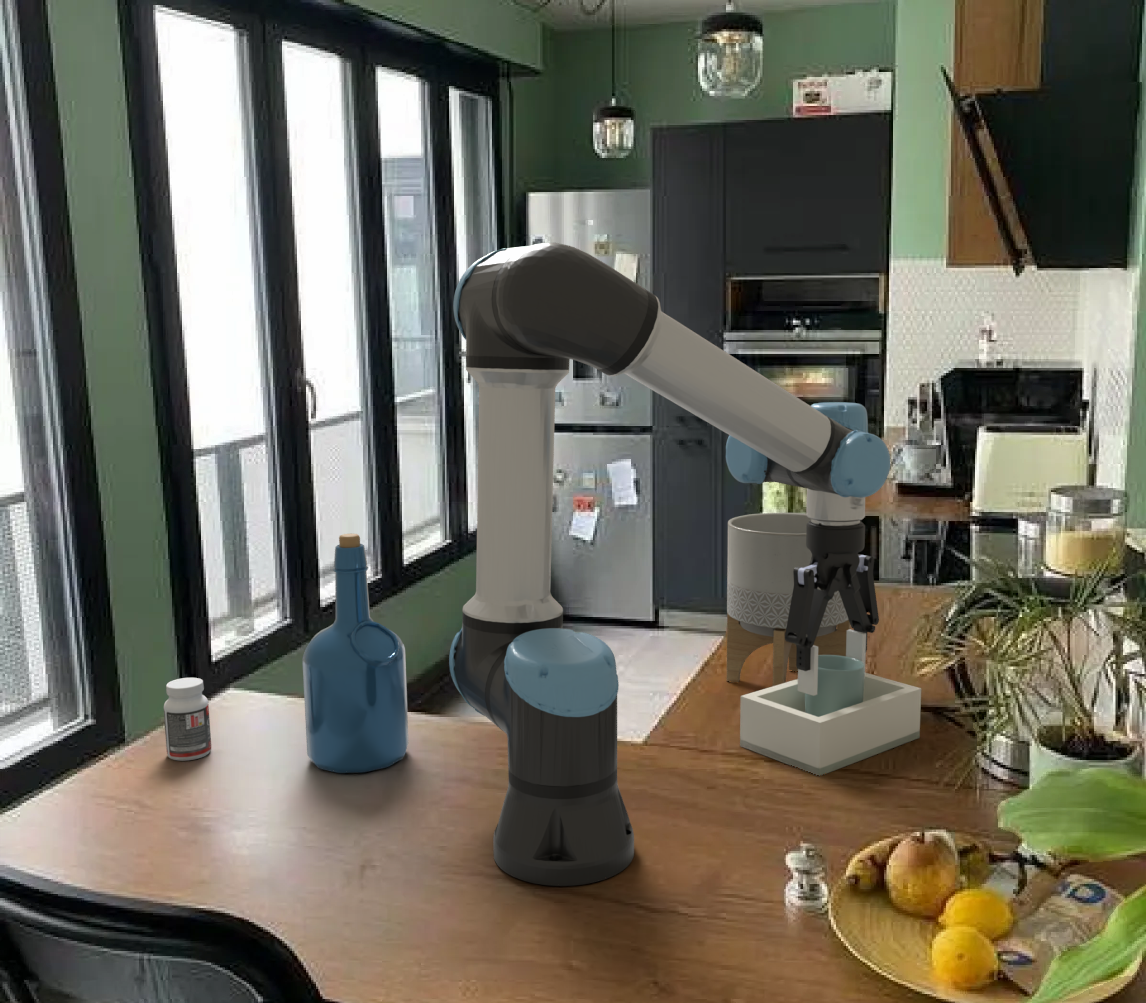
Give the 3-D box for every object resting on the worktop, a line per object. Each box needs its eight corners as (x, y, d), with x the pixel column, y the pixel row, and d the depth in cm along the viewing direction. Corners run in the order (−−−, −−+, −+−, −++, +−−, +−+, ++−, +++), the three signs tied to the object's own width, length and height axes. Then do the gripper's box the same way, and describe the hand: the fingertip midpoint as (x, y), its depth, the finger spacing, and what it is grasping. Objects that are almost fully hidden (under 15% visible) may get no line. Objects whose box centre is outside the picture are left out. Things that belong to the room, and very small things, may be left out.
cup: (862, 746, 149) (866, 672, 148) (802, 741, 151) (805, 668, 149) (860, 727, 157) (863, 656, 155) (802, 722, 158) (805, 652, 157)
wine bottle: (287, 759, 150) (275, 536, 145) (368, 732, 159) (360, 522, 155) (349, 786, 141) (338, 549, 136) (431, 756, 150) (424, 533, 146)
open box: (818, 776, 142) (820, 722, 141) (740, 746, 153) (740, 696, 152) (919, 737, 155) (921, 688, 154) (840, 712, 165) (841, 665, 164)
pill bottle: (219, 753, 152) (215, 682, 151) (180, 765, 148) (175, 692, 147) (198, 743, 156) (193, 673, 155) (159, 754, 152) (154, 683, 151)
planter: (842, 710, 166) (846, 536, 162) (715, 698, 172) (716, 530, 168) (853, 673, 184) (858, 515, 180) (738, 663, 190) (740, 510, 186)
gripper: (802, 534, 139) (799, 709, 143) (910, 514, 153) (904, 675, 156) (757, 526, 145) (754, 695, 149) (864, 508, 159) (860, 663, 162)
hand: (831, 685), depth 153 cm, fingers open, 9 cm apart
